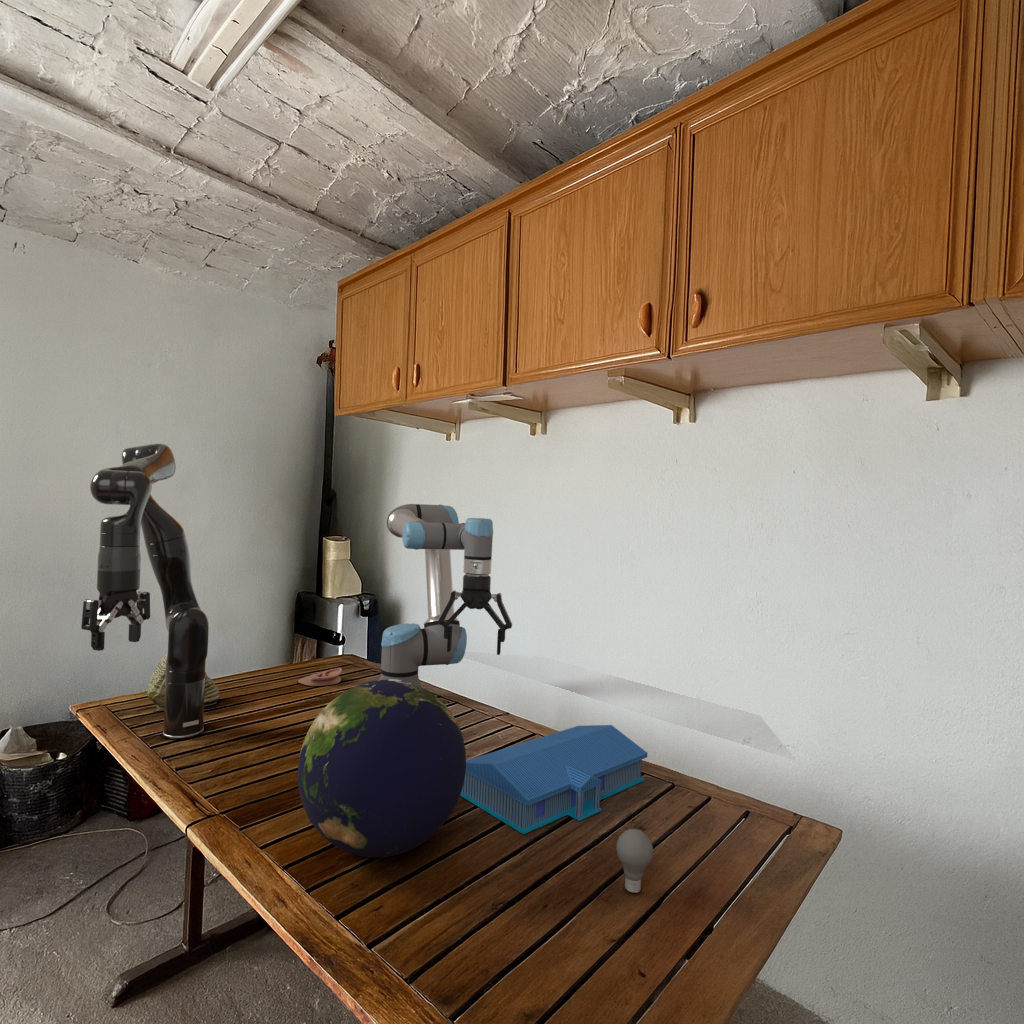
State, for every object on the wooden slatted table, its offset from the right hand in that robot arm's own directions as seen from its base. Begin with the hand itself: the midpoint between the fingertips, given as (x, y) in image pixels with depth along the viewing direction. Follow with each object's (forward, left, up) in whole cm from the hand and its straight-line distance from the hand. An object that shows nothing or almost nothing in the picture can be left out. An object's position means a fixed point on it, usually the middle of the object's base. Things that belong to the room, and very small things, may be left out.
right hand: (473, 652), depth 173 cm
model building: (+29, +26, -22) cm, 44 cm away
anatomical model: (-35, -58, -22) cm, 71 cm away
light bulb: (+63, +39, -22) cm, 78 cm away
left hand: (+50, -66, +8) cm, 83 cm away
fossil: (-2, -86, -22) cm, 88 cm away
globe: (+58, -6, -22) cm, 63 cm away
